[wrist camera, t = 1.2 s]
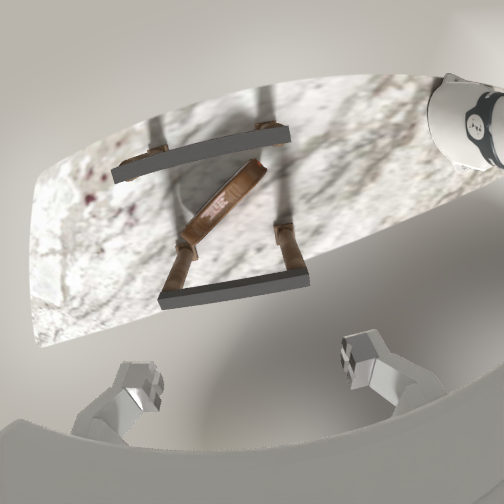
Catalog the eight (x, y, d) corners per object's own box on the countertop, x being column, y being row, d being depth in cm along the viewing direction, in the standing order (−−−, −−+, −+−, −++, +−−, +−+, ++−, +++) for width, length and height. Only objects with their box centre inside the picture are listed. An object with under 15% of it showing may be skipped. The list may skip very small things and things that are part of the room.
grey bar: (285, 125, 25) (288, 125, 23) (288, 141, 25) (291, 142, 24) (117, 167, 26) (110, 169, 24) (120, 180, 26) (114, 184, 25)
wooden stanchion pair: (275, 120, 36) (289, 118, 25) (294, 240, 44) (311, 281, 33) (148, 149, 37) (112, 161, 26) (181, 260, 45) (163, 305, 34)
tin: (198, 234, 43) (189, 259, 36) (183, 221, 42) (171, 244, 35) (266, 166, 39) (272, 176, 31) (251, 151, 38) (253, 158, 30)
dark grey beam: (306, 267, 32) (308, 274, 30) (307, 278, 32) (310, 285, 31) (160, 292, 33) (157, 299, 31) (164, 302, 33) (162, 310, 32)
